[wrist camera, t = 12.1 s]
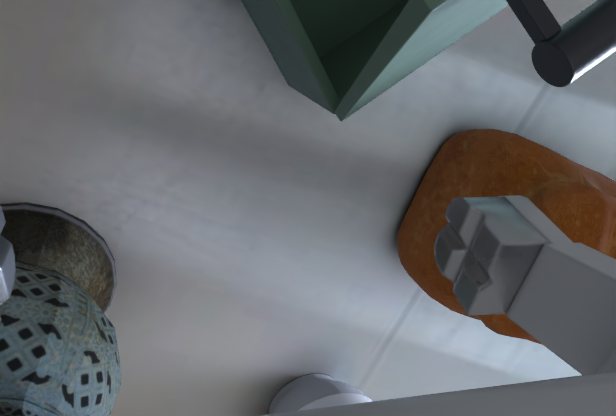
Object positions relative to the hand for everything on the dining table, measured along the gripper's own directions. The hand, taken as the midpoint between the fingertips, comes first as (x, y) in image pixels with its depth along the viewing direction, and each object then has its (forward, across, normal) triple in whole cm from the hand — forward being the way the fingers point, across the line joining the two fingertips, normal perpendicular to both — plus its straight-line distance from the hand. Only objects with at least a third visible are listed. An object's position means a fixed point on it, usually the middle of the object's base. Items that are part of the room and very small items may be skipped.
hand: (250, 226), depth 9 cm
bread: (+31, -31, +22) cm, 49 cm away
